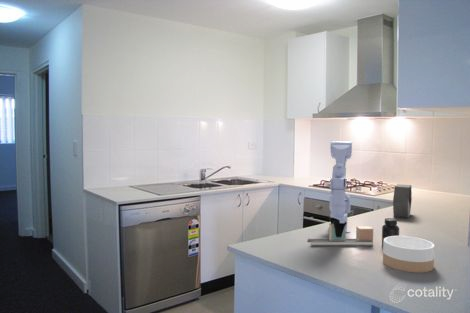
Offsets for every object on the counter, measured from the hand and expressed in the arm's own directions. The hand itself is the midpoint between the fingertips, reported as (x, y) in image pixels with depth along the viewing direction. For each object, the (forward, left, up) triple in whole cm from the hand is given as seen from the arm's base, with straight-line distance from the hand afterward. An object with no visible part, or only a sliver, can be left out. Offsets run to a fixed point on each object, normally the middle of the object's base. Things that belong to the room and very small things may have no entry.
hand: (337, 235), depth 165 cm
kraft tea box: (0, 0, -2) cm, 2 cm away
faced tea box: (0, +12, -3) cm, 12 cm away
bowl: (+26, +19, -4) cm, 32 cm away
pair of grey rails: (0, +1, -3) cm, 4 cm away
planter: (-53, +53, -4) cm, 75 cm away
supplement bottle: (+6, +21, -4) cm, 22 cm away
